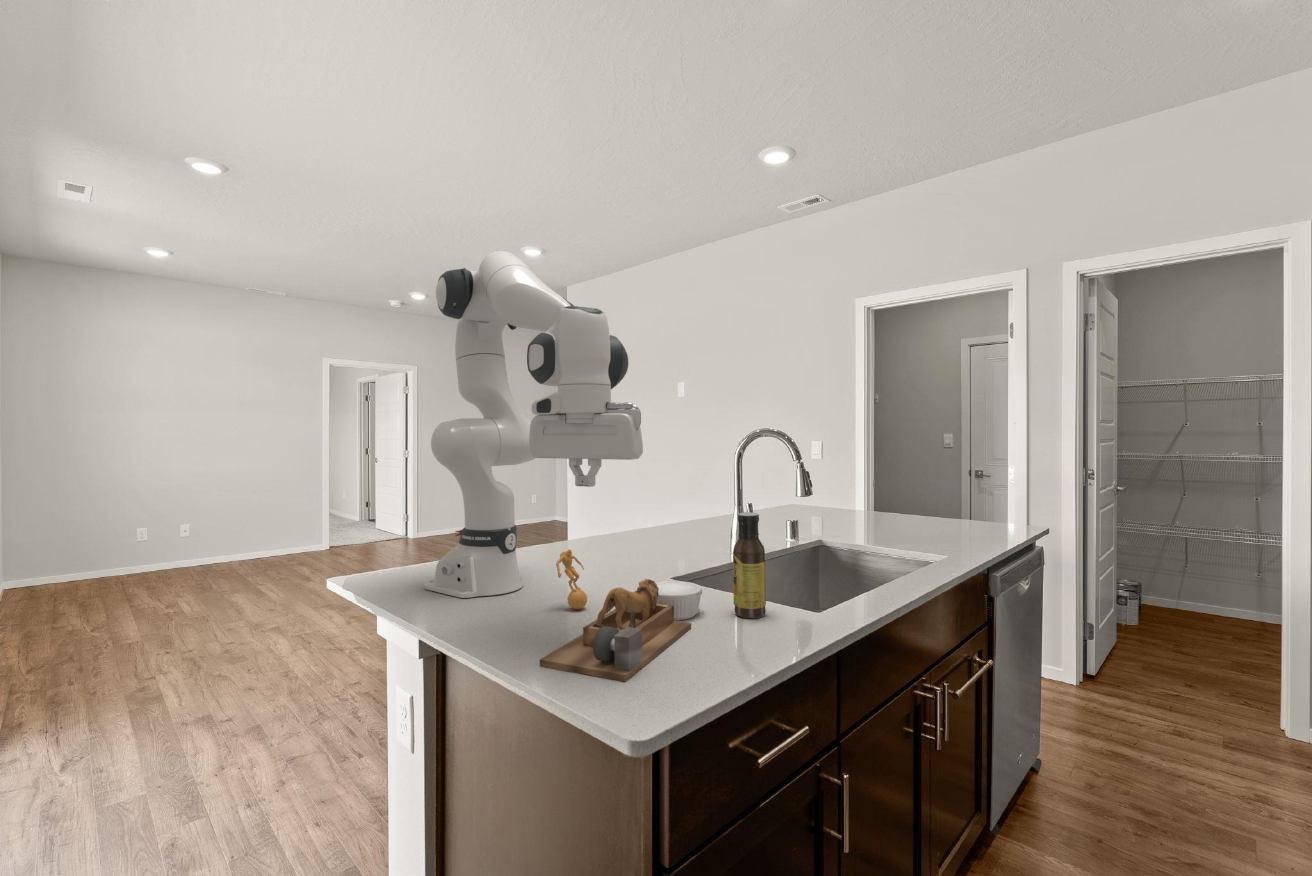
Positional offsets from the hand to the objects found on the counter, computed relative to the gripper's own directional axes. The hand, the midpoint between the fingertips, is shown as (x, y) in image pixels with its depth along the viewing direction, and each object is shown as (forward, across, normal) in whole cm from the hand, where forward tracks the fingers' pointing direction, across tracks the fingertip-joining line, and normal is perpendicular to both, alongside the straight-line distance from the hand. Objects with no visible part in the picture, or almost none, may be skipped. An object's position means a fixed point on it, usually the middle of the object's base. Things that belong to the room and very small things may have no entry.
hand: (585, 486), depth 104 cm
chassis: (+27, -5, -3) cm, 28 cm away
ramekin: (+27, -6, -23) cm, 36 cm away
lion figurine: (+25, -4, -5) cm, 26 cm away
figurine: (+27, +14, -18) cm, 36 cm away
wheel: (+26, -8, +7) cm, 28 cm away
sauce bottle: (+27, -20, -28) cm, 44 cm away
